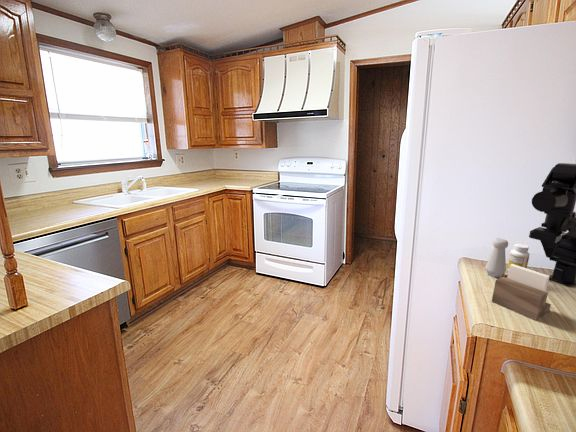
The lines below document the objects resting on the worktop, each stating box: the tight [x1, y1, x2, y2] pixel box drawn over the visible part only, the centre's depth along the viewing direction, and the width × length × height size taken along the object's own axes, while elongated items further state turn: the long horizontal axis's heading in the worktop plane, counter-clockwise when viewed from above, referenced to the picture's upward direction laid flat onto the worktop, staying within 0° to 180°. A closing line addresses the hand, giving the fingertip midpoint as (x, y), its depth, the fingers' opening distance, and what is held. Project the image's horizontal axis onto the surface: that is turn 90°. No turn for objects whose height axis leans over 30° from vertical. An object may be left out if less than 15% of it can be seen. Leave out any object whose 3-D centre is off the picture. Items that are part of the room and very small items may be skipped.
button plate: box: [506, 264, 550, 292], centre depth 88 cm, size 2×9×8 cm, turn 32°
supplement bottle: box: [506, 243, 530, 272], centre depth 109 cm, size 5×5×10 cm
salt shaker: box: [485, 238, 509, 279], centre depth 106 cm, size 6×6×13 cm
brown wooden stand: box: [491, 276, 552, 321], centre depth 88 cm, size 8×11×7 cm
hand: (548, 257), depth 95 cm, fingers closed
